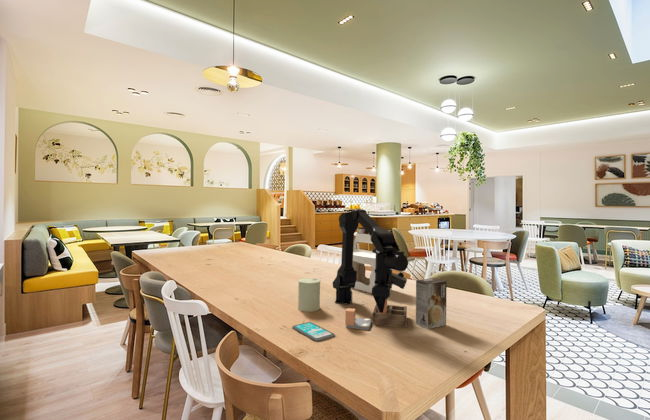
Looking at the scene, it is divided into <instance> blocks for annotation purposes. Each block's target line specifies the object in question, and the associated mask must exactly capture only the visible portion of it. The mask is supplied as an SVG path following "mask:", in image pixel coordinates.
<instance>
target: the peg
mask: <svg viewBox="0 0 650 420" xmlns="http://www.w3.org/2000/svg"><path fill="white" fill-rule="evenodd" d="M387 305H388V298H387V299H386V300H385V305H384V310H383V313H386V314H387ZM378 313H380V311H379V309H378Z"/></svg>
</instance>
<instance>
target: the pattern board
mask: <svg viewBox="0 0 650 420" xmlns="http://www.w3.org/2000/svg"><path fill="white" fill-rule="evenodd" d="M344 314H345V318H344V319H345V321H344V322H345V324H344V325H345V328H346V329H347V328H348V329H356V330H357V329H358V330H364V331H365V330H366V331H369V330H370V328H371V325H372V323H373V318H363V317H362V318H361V317H356V308H351V307H347V308H346V310H345V313H344Z"/></svg>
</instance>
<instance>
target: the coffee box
mask: <svg viewBox="0 0 650 420" xmlns="http://www.w3.org/2000/svg"><path fill="white" fill-rule="evenodd" d="M415 324H417V325H418V326H420V327H422V328H425V329H427V330H429V329H434V328H438V327H443V326H447V281H446V280H442V279H438V278H435V277H432V278H426V279H418V280H415Z"/></svg>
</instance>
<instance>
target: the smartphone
mask: <svg viewBox="0 0 650 420" xmlns="http://www.w3.org/2000/svg"><path fill="white" fill-rule="evenodd" d="M292 330H294V331H295V332H297V333H300V334H301V335H303V336H305V337H307V338H308V339H310V340H311V341H313V342H315V343H318V342H322V341H326V340H330V339H332V338H335V337H336V334H335V333H334V332H331V331H330V330H328V329H326V328H324V327H321V326H320V325H318V324H317V323H314V322H311V321H307V322H303V323H298V324H295V325H292Z"/></svg>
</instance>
